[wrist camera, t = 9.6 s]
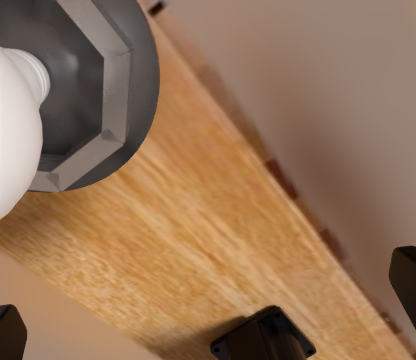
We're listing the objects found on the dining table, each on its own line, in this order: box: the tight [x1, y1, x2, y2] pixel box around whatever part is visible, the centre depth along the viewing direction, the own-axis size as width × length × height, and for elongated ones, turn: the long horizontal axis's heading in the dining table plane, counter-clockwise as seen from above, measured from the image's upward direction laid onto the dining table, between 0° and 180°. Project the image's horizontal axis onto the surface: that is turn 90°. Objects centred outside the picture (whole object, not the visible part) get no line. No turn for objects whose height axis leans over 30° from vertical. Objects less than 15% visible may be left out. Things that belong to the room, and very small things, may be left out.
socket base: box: [0, 0, 160, 192], centre depth 15 cm, size 12×12×4 cm
